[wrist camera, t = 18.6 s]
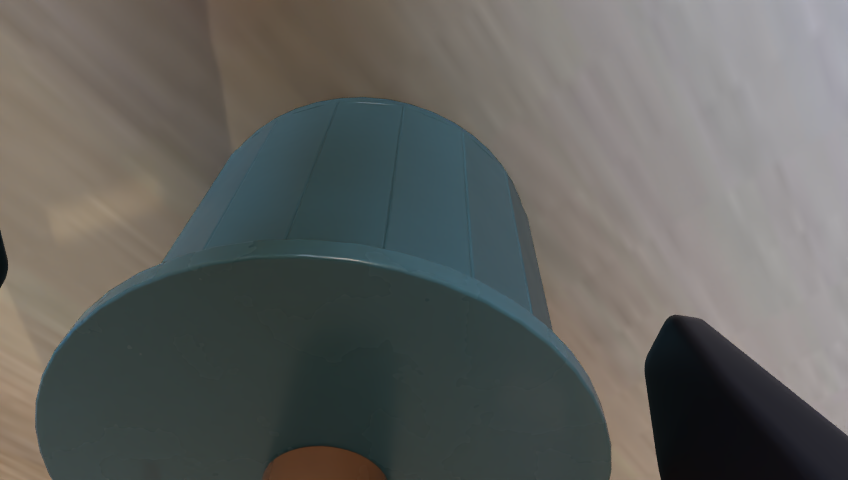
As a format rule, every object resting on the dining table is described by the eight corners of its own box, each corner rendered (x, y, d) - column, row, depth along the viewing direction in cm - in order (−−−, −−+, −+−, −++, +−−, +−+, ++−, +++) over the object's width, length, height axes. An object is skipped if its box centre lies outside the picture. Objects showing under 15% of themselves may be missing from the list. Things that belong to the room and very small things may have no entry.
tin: (257, 36, 19) (123, 186, 11) (589, 178, 21) (677, 385, 13) (181, 304, 25) (58, 527, 17) (447, 391, 27) (449, 622, 19)
